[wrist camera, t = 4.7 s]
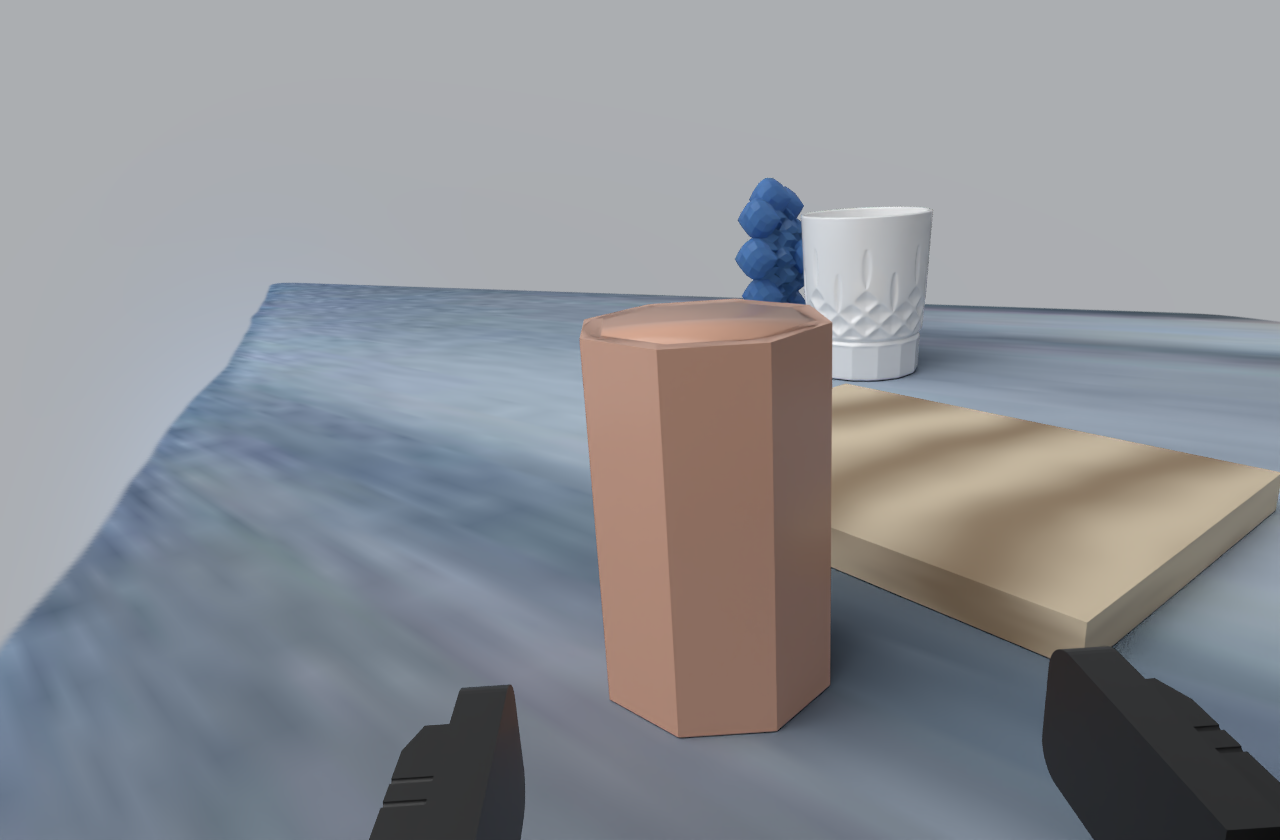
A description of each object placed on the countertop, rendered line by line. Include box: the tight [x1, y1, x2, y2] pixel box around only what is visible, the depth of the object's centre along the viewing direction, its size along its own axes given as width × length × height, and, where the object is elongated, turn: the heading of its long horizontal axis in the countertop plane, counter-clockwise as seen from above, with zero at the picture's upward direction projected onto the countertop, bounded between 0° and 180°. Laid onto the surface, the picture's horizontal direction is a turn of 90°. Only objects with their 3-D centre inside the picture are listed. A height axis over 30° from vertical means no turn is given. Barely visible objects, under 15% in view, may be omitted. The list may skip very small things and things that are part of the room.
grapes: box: [735, 178, 806, 305], centre depth 66 cm, size 12×7×12 cm, turn 152°
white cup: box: [801, 207, 933, 381], centre depth 54 cm, size 8×8×10 cm
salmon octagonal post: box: [580, 299, 832, 738], centre depth 23 cm, size 6×6×10 cm
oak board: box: [831, 384, 1280, 658], centre depth 35 cm, size 20×15×2 cm
